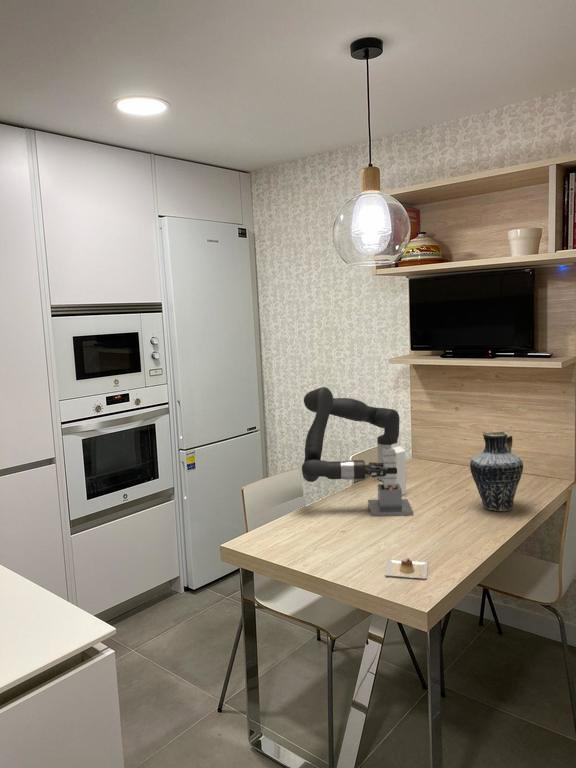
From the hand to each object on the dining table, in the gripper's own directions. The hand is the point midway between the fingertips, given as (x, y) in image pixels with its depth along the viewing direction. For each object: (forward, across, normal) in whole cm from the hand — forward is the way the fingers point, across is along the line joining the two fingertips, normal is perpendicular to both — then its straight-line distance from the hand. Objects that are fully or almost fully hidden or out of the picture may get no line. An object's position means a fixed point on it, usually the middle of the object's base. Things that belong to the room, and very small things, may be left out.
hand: (396, 469), depth 240 cm
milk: (+2, +20, +16) cm, 26 cm away
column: (-3, 0, +14) cm, 15 cm away
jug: (+39, -1, +16) cm, 42 cm away
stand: (-3, 0, +16) cm, 16 cm away
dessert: (-4, -57, +17) cm, 60 cm away
